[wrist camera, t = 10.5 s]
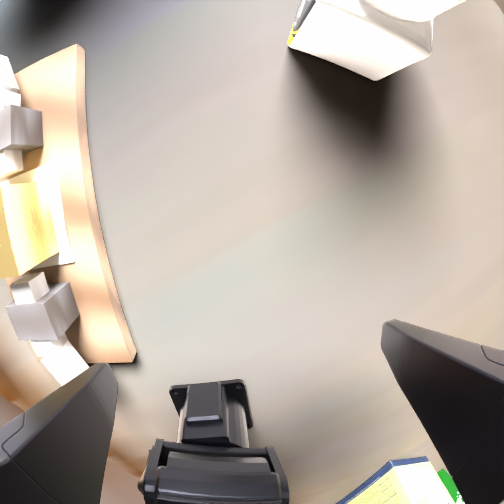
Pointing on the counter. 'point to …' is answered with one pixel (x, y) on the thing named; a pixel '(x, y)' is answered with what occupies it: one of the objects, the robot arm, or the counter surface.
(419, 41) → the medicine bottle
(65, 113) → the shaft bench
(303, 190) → the counter surface
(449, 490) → the milk carton
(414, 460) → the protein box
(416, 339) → the robot arm
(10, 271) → the block
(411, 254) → the counter surface
